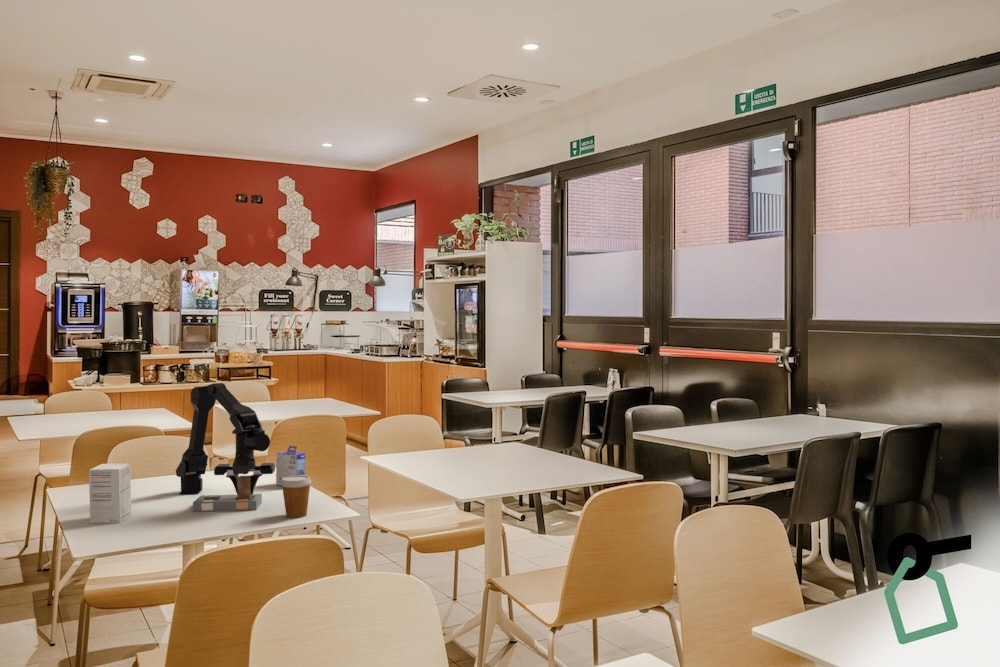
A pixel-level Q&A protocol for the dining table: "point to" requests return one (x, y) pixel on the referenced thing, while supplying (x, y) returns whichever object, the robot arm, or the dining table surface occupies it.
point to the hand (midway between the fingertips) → (245, 494)
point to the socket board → (226, 503)
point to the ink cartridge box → (289, 464)
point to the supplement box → (110, 493)
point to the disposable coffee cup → (296, 495)
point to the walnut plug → (244, 487)
